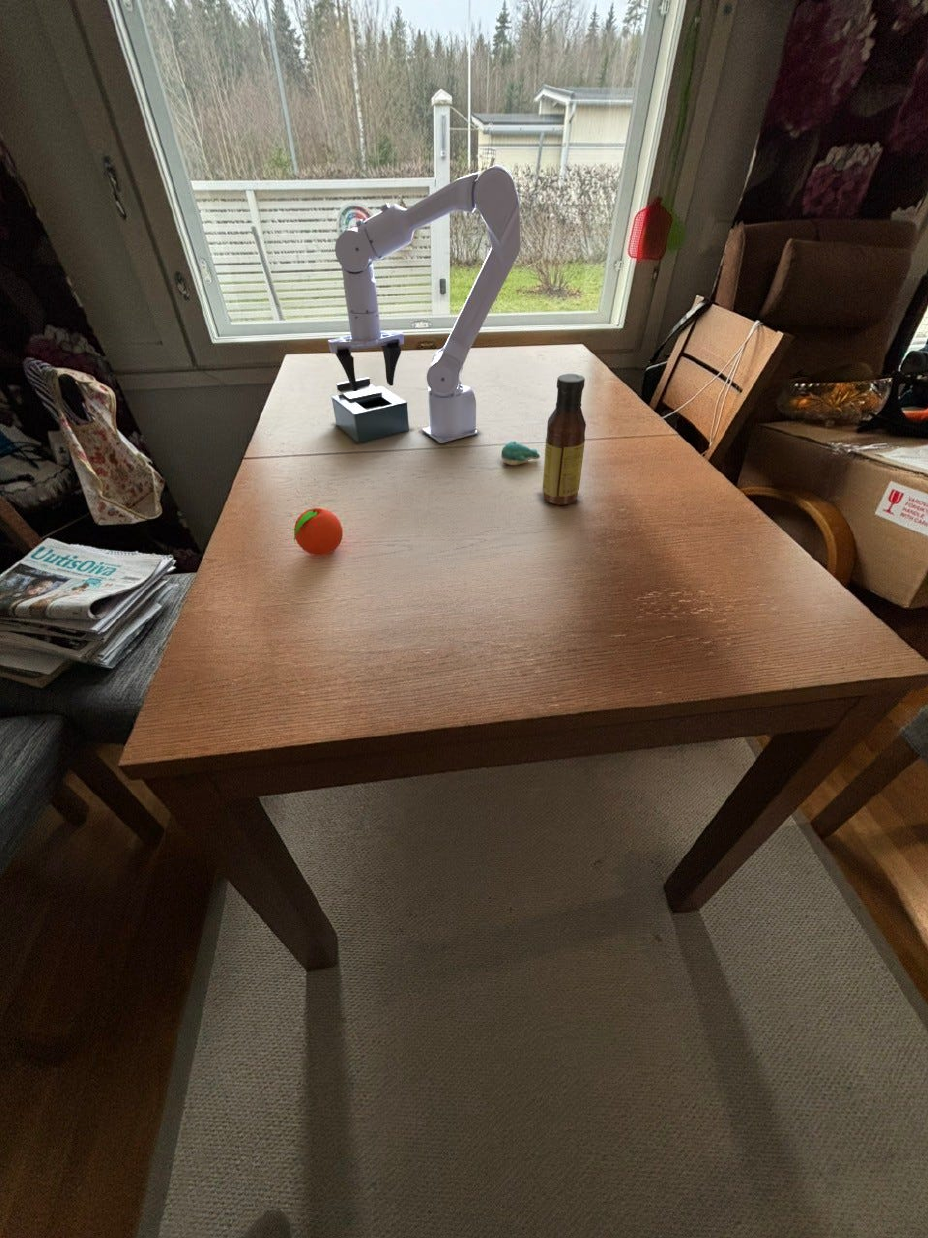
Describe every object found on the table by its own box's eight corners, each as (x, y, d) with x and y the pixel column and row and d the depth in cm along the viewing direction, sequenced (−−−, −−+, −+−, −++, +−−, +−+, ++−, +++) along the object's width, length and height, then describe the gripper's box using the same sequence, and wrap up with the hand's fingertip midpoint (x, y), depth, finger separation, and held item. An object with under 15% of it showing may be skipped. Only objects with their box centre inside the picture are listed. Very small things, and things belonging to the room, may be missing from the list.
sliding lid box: (384, 412, 117) (381, 385, 113) (409, 430, 109) (407, 402, 105) (336, 424, 112) (331, 396, 108) (358, 443, 105) (354, 414, 101)
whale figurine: (498, 455, 100) (499, 436, 98) (534, 453, 101) (536, 434, 98) (503, 468, 96) (505, 449, 93) (541, 466, 97) (543, 447, 94)
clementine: (319, 574, 72) (308, 532, 67) (284, 559, 75) (272, 517, 70) (355, 547, 77) (348, 506, 72) (322, 533, 80) (313, 493, 75)
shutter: (369, 385, 113) (368, 377, 112) (382, 393, 109) (381, 385, 108) (337, 391, 110) (336, 383, 109) (349, 400, 106) (348, 392, 105)
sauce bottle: (579, 492, 89) (600, 373, 76) (573, 509, 85) (593, 386, 71) (543, 486, 91) (557, 368, 77) (535, 503, 87) (548, 381, 73)
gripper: (330, 319, 88) (342, 398, 98) (407, 310, 93) (412, 387, 102) (320, 310, 93) (333, 387, 102) (394, 303, 98) (400, 377, 107)
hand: (372, 386), depth 103 cm, fingers open, 7 cm apart
